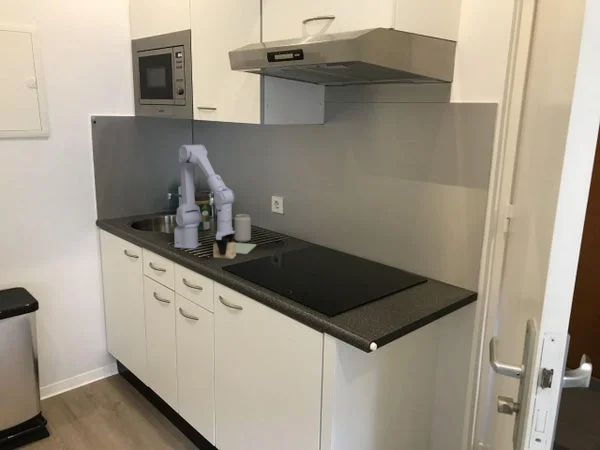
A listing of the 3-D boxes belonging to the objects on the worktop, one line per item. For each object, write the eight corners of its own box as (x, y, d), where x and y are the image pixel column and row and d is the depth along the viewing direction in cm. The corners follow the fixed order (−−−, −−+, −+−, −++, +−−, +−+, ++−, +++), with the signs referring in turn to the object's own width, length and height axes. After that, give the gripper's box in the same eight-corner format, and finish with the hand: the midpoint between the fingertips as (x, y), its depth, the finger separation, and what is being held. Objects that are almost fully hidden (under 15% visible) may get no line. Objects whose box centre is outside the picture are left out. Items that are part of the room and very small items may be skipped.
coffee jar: (188, 228, 243) (187, 192, 239) (201, 226, 249) (201, 190, 245) (199, 232, 237) (198, 194, 233) (212, 229, 242) (212, 193, 238)
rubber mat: (212, 251, 204) (212, 250, 203) (223, 243, 217) (223, 242, 217) (247, 253, 201) (247, 252, 201) (256, 245, 214) (256, 244, 214)
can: (253, 239, 225) (253, 213, 223) (247, 243, 218) (247, 217, 216) (237, 237, 227) (237, 212, 224) (231, 241, 220) (231, 215, 217)
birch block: (213, 257, 195) (213, 243, 194) (217, 254, 199) (217, 241, 198) (232, 258, 194) (232, 245, 192) (236, 255, 198) (235, 242, 197)
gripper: (228, 224, 186) (228, 258, 188) (239, 217, 199) (239, 249, 202) (210, 223, 187) (211, 257, 190) (223, 216, 201) (223, 247, 204)
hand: (224, 253), depth 196 cm, fingers closed on birch block, 4 cm apart
